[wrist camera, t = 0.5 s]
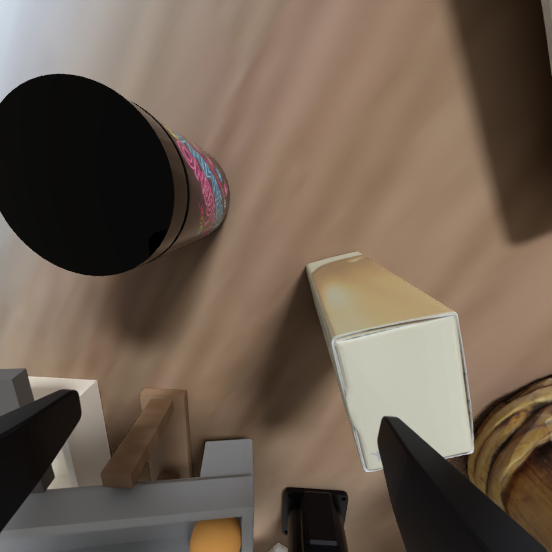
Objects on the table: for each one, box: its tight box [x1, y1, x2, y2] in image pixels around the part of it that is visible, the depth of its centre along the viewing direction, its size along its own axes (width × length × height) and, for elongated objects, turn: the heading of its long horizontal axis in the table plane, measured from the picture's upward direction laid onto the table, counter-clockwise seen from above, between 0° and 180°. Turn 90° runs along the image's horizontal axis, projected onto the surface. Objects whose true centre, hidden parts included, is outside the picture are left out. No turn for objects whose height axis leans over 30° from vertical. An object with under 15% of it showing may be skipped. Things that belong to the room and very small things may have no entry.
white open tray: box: [28, 376, 111, 489], centre depth 24 cm, size 12×12×4 cm
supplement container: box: [0, 74, 230, 276], centre depth 14 cm, size 7×7×10 cm
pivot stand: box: [100, 388, 193, 489], centre depth 22 cm, size 4×11×8 cm, turn 178°
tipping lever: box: [0, 369, 254, 552], centre depth 18 cm, size 18×16×6 cm
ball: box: [190, 517, 242, 552], centre depth 18 cm, size 4×4×4 cm
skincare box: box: [306, 252, 474, 472], centre depth 15 cm, size 6×4×12 cm
